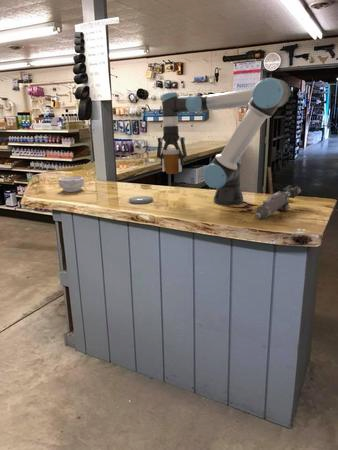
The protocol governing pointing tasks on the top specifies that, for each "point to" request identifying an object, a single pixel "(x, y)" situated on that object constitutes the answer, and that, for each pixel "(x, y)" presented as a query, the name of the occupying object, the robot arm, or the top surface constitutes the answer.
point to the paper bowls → (71, 183)
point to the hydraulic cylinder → (277, 202)
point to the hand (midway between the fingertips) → (172, 171)
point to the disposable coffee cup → (171, 160)
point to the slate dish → (140, 200)
